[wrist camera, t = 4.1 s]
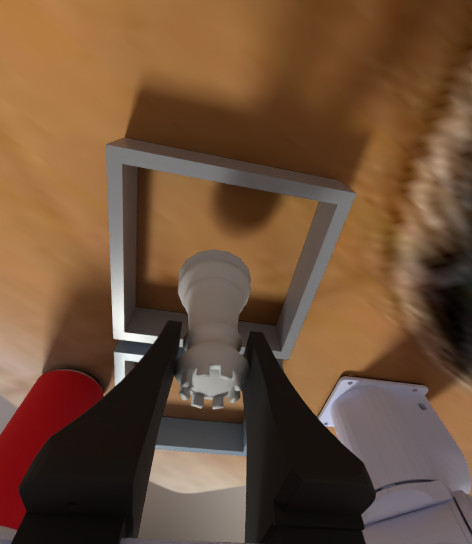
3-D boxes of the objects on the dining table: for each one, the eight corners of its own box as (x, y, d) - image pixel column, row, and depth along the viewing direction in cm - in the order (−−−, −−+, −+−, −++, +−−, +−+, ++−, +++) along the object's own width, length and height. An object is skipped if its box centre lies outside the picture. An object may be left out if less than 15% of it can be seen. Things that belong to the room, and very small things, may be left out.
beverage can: (56, 406, 30) (-33, 564, 20) (29, 365, 27) (-94, 530, 17) (114, 401, 30) (55, 559, 20) (94, 360, 27) (11, 523, 17)
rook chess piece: (183, 304, 19) (163, 424, 13) (174, 246, 17) (144, 357, 10) (249, 302, 19) (264, 419, 13) (250, 244, 17) (269, 352, 10)
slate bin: (278, 344, 26) (283, 371, 24) (247, 428, 33) (248, 456, 31) (125, 325, 25) (113, 351, 22) (126, 417, 32) (117, 446, 29)
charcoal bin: (339, 180, 19) (356, 193, 16) (282, 333, 25) (288, 359, 23) (124, 137, 17) (105, 144, 14) (125, 313, 24) (113, 338, 21)
